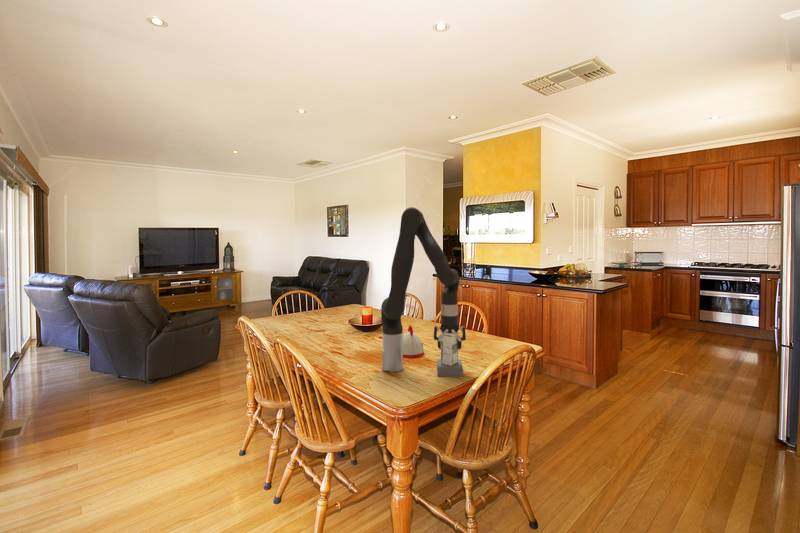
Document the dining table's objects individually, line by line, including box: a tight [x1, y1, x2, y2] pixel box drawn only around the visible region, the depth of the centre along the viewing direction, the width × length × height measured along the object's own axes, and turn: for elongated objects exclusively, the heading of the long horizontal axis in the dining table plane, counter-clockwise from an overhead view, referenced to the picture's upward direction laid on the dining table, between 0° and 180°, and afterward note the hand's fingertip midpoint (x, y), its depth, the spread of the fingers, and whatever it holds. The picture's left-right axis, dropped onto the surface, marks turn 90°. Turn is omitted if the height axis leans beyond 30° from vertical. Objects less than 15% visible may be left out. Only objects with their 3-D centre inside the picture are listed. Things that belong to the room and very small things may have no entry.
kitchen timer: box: [403, 325, 425, 359], centre depth 204 cm, size 14×14×15 cm
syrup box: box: [440, 331, 459, 366], centre depth 176 cm, size 6×6×14 cm
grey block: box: [436, 358, 464, 378], centre depth 177 cm, size 11×11×4 cm
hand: (449, 349), depth 176 cm, fingers open, 8 cm apart
